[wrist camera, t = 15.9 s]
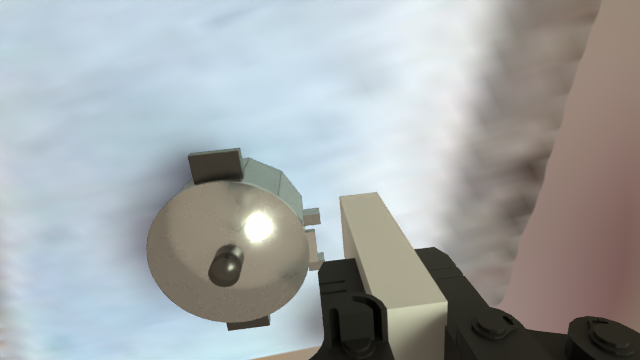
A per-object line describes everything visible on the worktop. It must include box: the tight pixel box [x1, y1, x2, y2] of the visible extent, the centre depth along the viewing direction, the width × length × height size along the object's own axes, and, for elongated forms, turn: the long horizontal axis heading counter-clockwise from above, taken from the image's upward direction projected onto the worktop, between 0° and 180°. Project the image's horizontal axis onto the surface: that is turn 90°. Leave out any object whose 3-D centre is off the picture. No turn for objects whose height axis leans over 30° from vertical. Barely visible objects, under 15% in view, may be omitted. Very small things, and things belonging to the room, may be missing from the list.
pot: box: [178, 148, 325, 331], centre depth 41 cm, size 22×18×9 cm
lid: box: [146, 179, 318, 323], centre depth 35 cm, size 17×18×4 cm
